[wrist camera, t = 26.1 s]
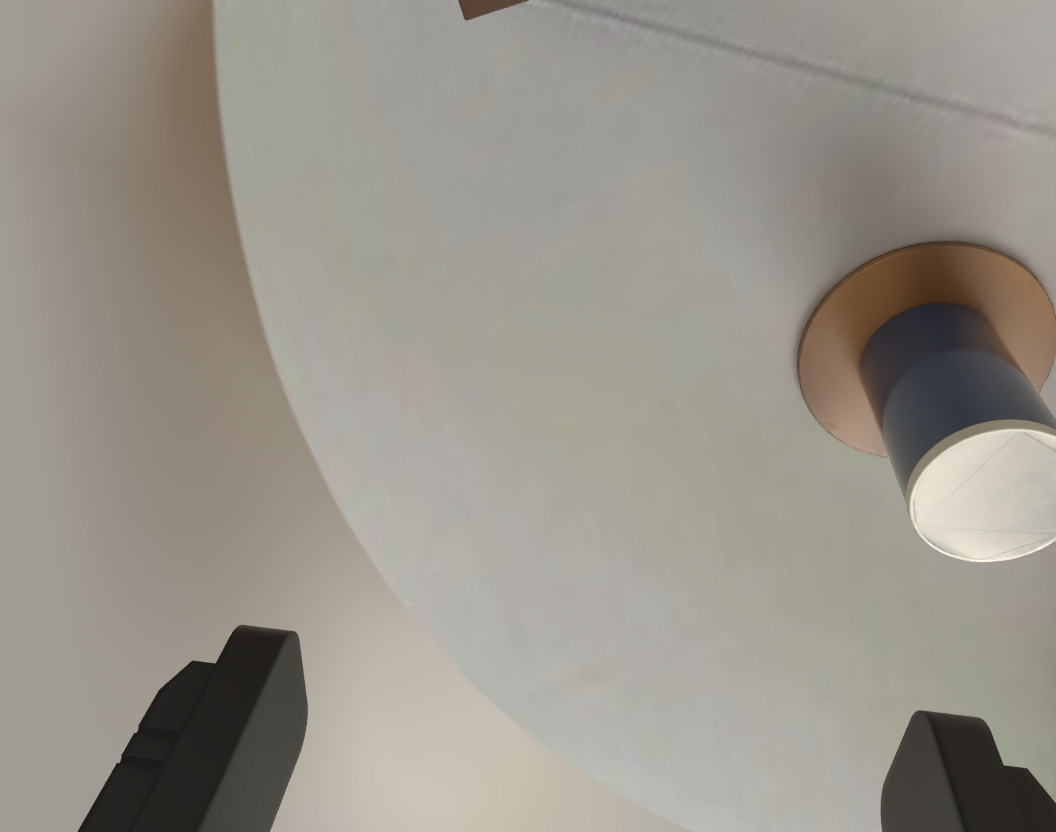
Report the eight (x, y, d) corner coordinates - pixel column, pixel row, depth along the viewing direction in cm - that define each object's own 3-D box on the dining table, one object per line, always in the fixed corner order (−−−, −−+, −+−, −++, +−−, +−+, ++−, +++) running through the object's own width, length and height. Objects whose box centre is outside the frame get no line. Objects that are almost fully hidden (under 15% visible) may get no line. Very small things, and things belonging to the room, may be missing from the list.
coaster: (815, 472, 45) (816, 476, 45) (780, 274, 40) (781, 278, 40) (1056, 431, 43) (1059, 436, 42) (1053, 213, 37) (1056, 217, 37)
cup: (865, 429, 43) (915, 572, 35) (851, 317, 40) (902, 445, 32) (1003, 406, 42) (1091, 550, 34) (999, 287, 39) (1094, 413, 31)
